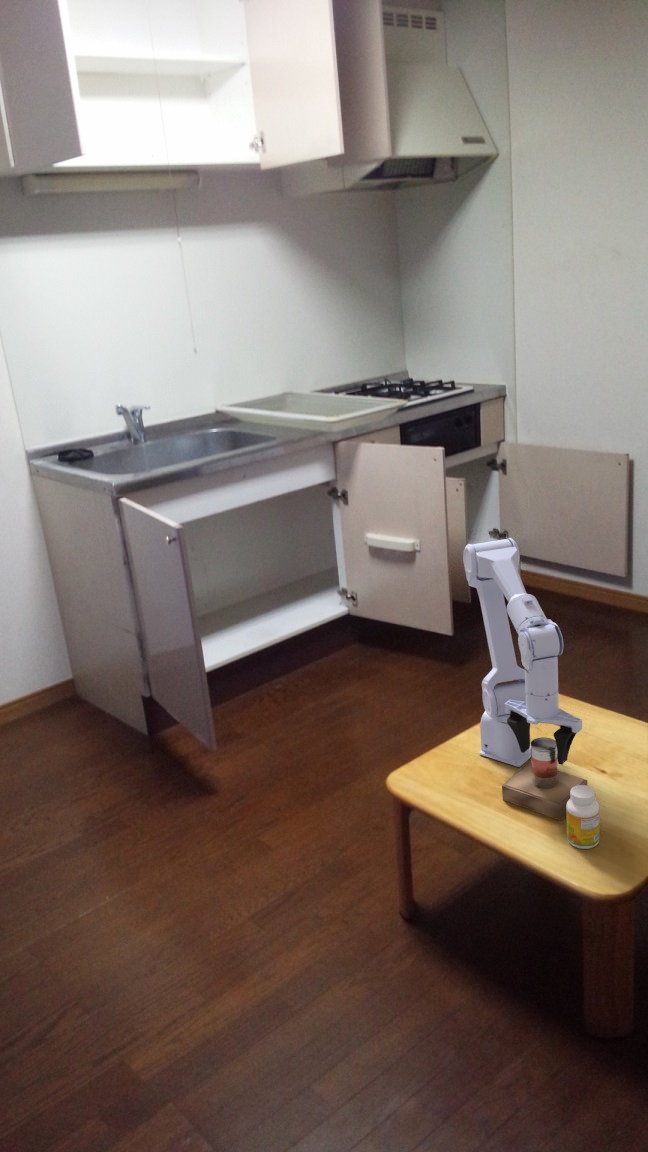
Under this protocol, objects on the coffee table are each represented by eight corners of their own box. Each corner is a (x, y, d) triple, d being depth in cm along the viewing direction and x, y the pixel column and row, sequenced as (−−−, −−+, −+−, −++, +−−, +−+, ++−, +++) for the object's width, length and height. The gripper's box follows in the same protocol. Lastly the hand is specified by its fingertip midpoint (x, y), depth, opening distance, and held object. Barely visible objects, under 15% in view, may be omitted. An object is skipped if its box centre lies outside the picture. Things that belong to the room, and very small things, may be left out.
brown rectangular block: (502, 799, 168) (501, 785, 167) (530, 775, 174) (529, 761, 173) (561, 820, 160) (560, 805, 159) (587, 794, 166) (587, 779, 165)
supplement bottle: (562, 833, 156) (561, 784, 153) (592, 828, 156) (592, 780, 153) (573, 851, 151) (572, 802, 148) (604, 847, 151) (604, 797, 148)
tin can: (527, 783, 166) (525, 745, 164) (540, 772, 169) (539, 734, 167) (549, 791, 163) (548, 753, 160) (563, 780, 166) (562, 742, 163)
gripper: (494, 688, 162) (497, 754, 166) (568, 708, 152) (569, 777, 157) (515, 673, 167) (517, 738, 171) (587, 691, 157) (588, 759, 161)
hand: (543, 755), depth 164 cm, fingers open, 7 cm apart
